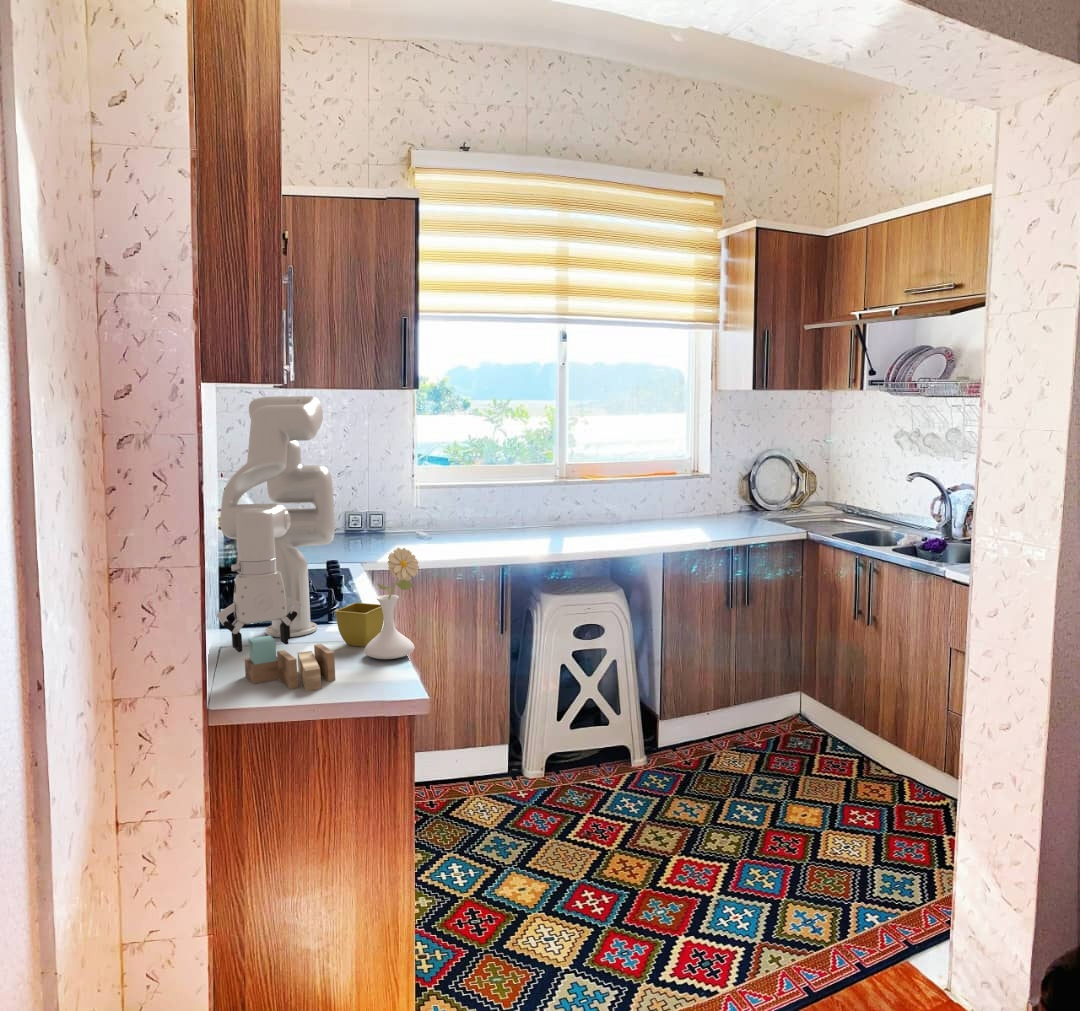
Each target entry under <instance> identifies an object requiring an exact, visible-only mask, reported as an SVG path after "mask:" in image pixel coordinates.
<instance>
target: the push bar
mask: <svg viewBox="0 0 1080 1011" xmlns="http://www.w3.org/2000/svg"><path fill="white" fill-rule="evenodd" d="M297 672H298V675H299V677H300V679H301V682H302V684H303V686H304V689H306V690H305V692H310V690H311V691H316V690H315V689H319V690H322V680H321V678H322V676H321V674H320V667H319V665H318V663H317V661H316V659H315V654H314V653H313V651H312V650H309V651H308V650H307V651H299V652H297Z"/></svg>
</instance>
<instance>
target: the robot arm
mask: <svg viewBox="0 0 1080 1011" xmlns="http://www.w3.org/2000/svg"><path fill="white" fill-rule="evenodd" d="M322 406H323V405H322V403H321V401H320V400H319V399H318V398H317V397H316V396H311V395H308V396H307V395H305V396H304V395H303V396H302V395H300V396H299V395H297V396H295V395H294V396H290V395H289V396H288V395H287V396H283V395H282V396H280V395H279V396H276V395H275V396H262V397H258V398H254V399H253V400H251V401H250V403H249V404H248V413H249V414H248V415H249V418H250V427H249V438H248V446H247V447H248V448H247V450H248V451H247V460H246V462H245V464H243V465H242V466H241V467H240V468H239V469H238V470H237V471H236V472H235V473H234V474H233V475H232V476H231V477H230V479H229V481H228V482H227V484H226V485H225V487H224V489H223V491H222V492H223V493H222V498H221V505H220V515H219V516H220V518H219V519H220V521H219V522H220V524H219V525H220V530H221V532H222V534H223V536H224V537H226V538H228V539H230V540H231V539H232V540H236V542H237V543H236V544H237V546H236V547H237V558H238V559H237V561H236V563H235V564H231V566H230V568H231V572H237V573H238V574H236V575H235V580H234V585H233V586H234V587H233V588H234V589H233V602H232V604H230V605H229V606H227V607H226V608H224V609H222V610H221V611H219V612H217V614H216V617H217V618H218V620H219V622H220V623H221V625H222V626H223V627H224V628H225V629H227V630H228V631H230V632H231V641H232V642H231V643H232V648H233V649H234V650H236V651H237V653H242V652H243V636H242V633H241V632H240V630H241V629H242V628H243V627H244V625H251V624H252V625H253V624H259V623H267V622H271V625H269V626H267V627H266V628H265V634H266V635H267V636H271V637H272V638H273V637H275V638H280V642H281V643H282V644H284V645H289V640H290V639H291V638H294V637H300V636H301V637H302V636H305V635H306V636H307V635H309V634H312V633H314V632H316V631H317V630H318V624H317V623H315V622H312V621H311V608H310V607H311V606H310V604H311V603H310V584H309V565H308V561H307V559H306V557H305V556H304V554H303V553H302V552H301V551H300V550H299V549H298V548H297V547H308V546H309V547H312V546H313V547H314V546H325V545H329V544H330V543H332V542H333V540H334V539H335V534H336V533H335V530H336V526H335V524H336V523H335V507H334V506H335V504H334V487H333V479H332V475H331V472H330V470H329V469H328V468H327V467H326V466H323V465H318V464H317V465H315V464H314V465H309V464H308V465H303V464H302V458H301V456H302V455H301V454H302V453H301V445H300V444H299V441H300V442H301V441H303V442H304V441H311V440H313V439H314V438H315V437H316V435H317V434H318V432H319V429H320V428H321V425H322V424H323V418H324V412H323V407H322ZM265 482H266V489H267V494H268V497H269V500H271V501H272V502H274V503H246V504H245V503H244V504H243V503H242V504H240V503H239V502H240V499H241V498H242V496H244V494H246V493H247V492H248V491H250V490H251V489H253V488H255V487H257V486H260V485H261V484H264V483H265ZM283 504H313V505H314V507H313V508H312V507H311V508H310V507H309V508H300V507H298V508H286V507H285V506H284V505H283ZM232 613H233V618H234V620H233V622H232V623H231V622H229V620H228V619H227V618H228V616H229V615H231V614H232Z"/></svg>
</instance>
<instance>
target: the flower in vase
mask: <svg viewBox="0 0 1080 1011" xmlns="http://www.w3.org/2000/svg"><path fill="white" fill-rule="evenodd" d="M387 559H388V560H387V564H388V570H389V571H390V573H391V574H393V576H394V578H396V580H395V583H394V585H393V586H392V588H391V587H389V586H385V585H382V584H380V583H377V587H378V588H379V589H380V590H385V591H389V592H390V593H389V594H385V595H379V596H377V597H376V600H377V601H378V602H379V603H378V604H379V605H381V607H382V611H383V618H384V620H383V627H382V630H381V632H380V633H379V634H378V635H377V636H376V637H375V638H373V639H372V640H371V641H370V642H369V643H368V644H367V646H365V647H364V653H365V654H366V656H367V657H370V658H374V659H376V660H377V659H378V660H393V659H400V658H403V657H406V656H408V655H410V654H412V653H413V652H414V651H415V649H416V648H415V645H414V643H413V642H412V641H411V640H410V639H409V638H408V637H406V636H405V635H403V634H402V633H401V632H399V631H398V630H397V629H396V627H395V624H394V623H395V621H394V613H395V612H394V610H395V606H396V603H397V601H398V600H399V598H400V597H399V595H395V594H392V593H393V592H394V590H395V588H396V587H398V588H399V589H400V590H401V591H408V590H409V589H412V588H413V587H414V584H413V583H412V582H411V581H410V580H411V579H412V577H413V578H414V577H416V575H418V574H419V571H418V569H419V568H420V566H419V565H418V564H419V561H418V558H416V556H415V555H414V554H412V551H411V550H410V549H406V548H405V547H403V548H400V547H396V549H394V550H393V552H390V553H389V554H388V557H387ZM399 579H400V580H399ZM398 580H399V581H398Z"/></svg>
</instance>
